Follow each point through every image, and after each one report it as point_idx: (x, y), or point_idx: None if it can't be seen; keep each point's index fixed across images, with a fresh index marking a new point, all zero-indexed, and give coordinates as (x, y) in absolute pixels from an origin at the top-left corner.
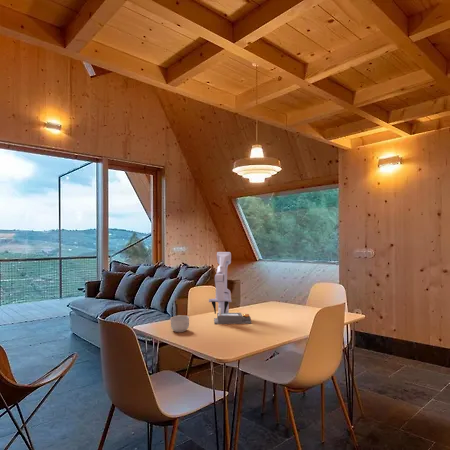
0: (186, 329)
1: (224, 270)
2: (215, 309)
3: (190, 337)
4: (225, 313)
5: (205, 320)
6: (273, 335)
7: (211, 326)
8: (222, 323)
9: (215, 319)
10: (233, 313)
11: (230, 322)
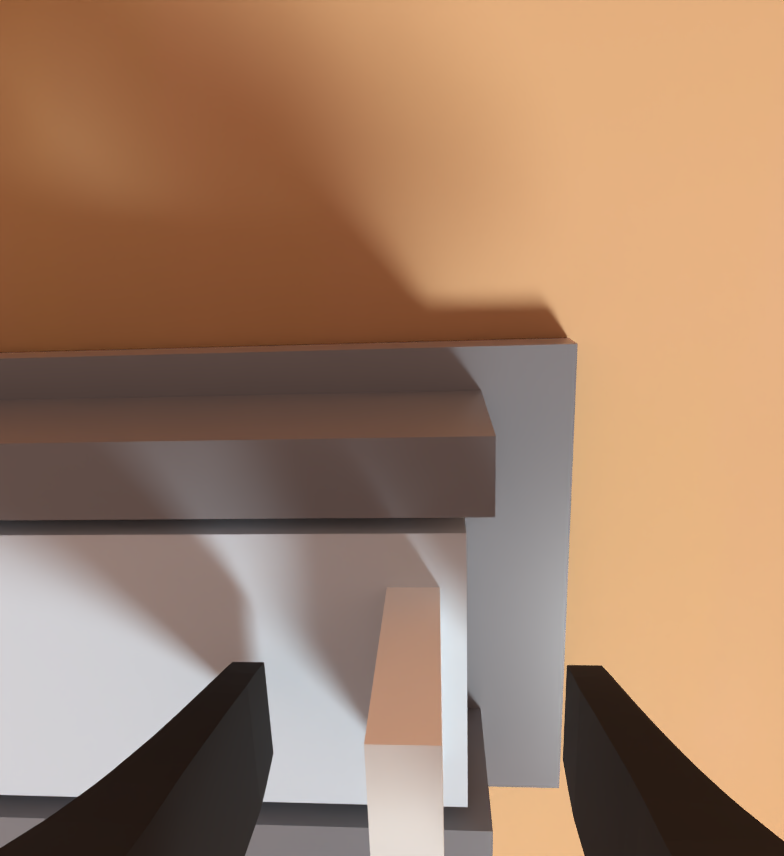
0: None
1: None
2: (630, 762)
3: None
4: None
5: (764, 715)
6: None
7: (683, 54)
8: (359, 345)
9: (530, 671)
10: (9, 810)
11: (141, 352)
